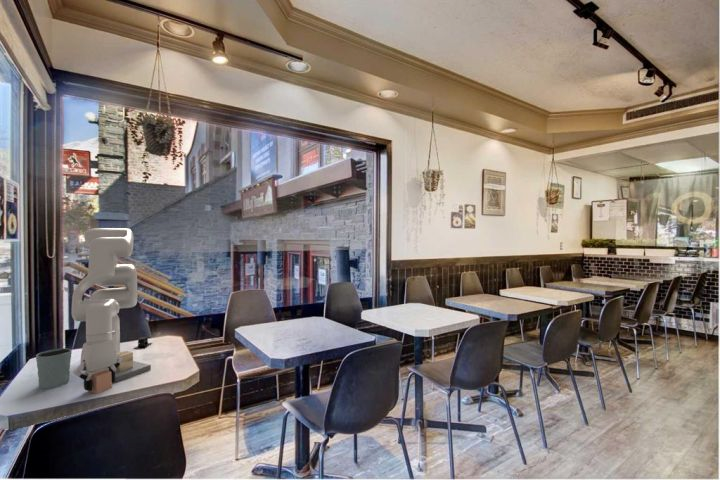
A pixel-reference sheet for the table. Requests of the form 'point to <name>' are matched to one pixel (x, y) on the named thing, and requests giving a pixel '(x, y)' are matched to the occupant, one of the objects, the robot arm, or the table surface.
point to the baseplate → (130, 371)
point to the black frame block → (143, 343)
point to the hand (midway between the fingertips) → (100, 385)
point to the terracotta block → (101, 381)
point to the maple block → (125, 360)
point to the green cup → (53, 367)
